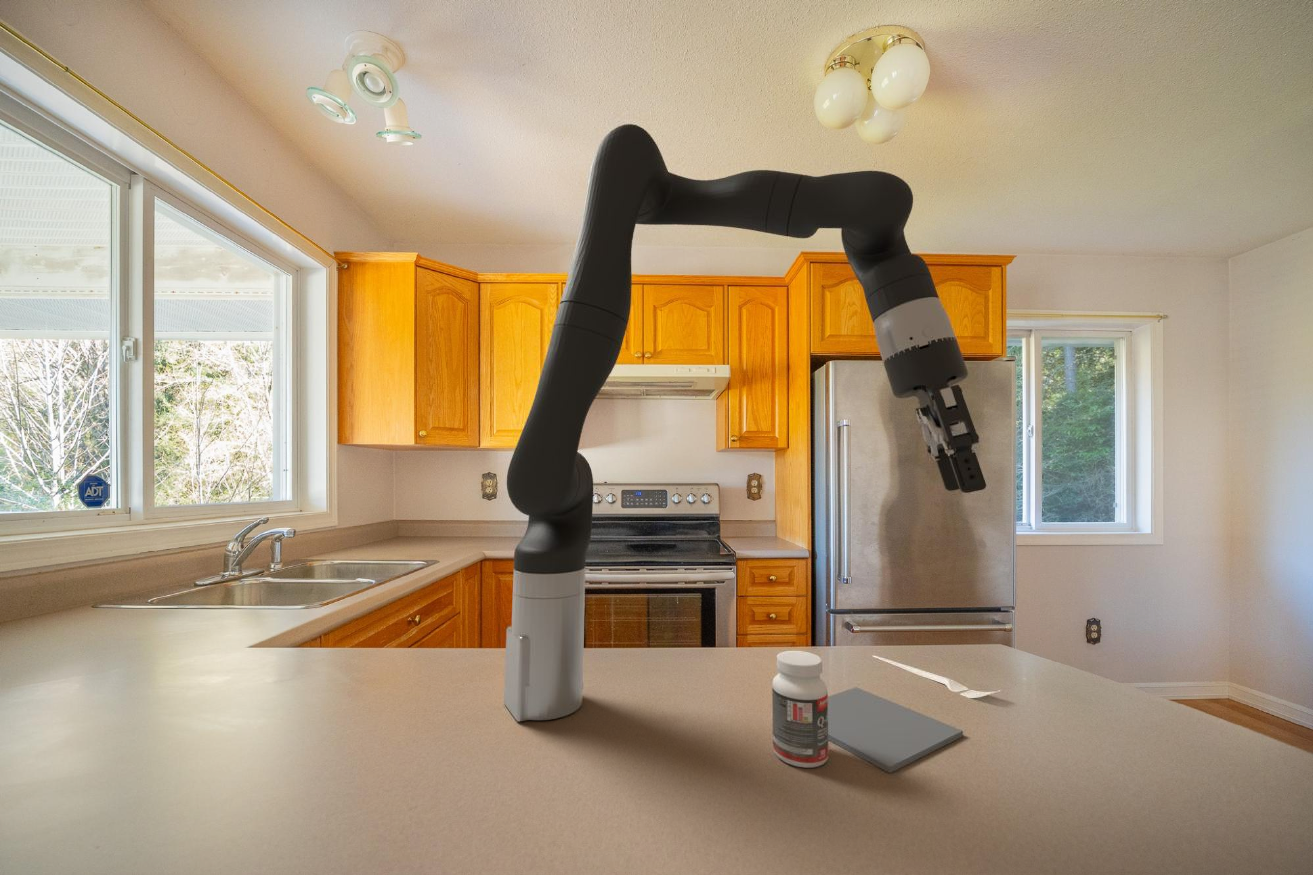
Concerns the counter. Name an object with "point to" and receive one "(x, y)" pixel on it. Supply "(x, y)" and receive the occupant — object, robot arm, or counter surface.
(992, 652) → the counter surface
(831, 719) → the mat
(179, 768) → the counter surface
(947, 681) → the fork
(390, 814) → the counter surface
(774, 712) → the pill bottle
